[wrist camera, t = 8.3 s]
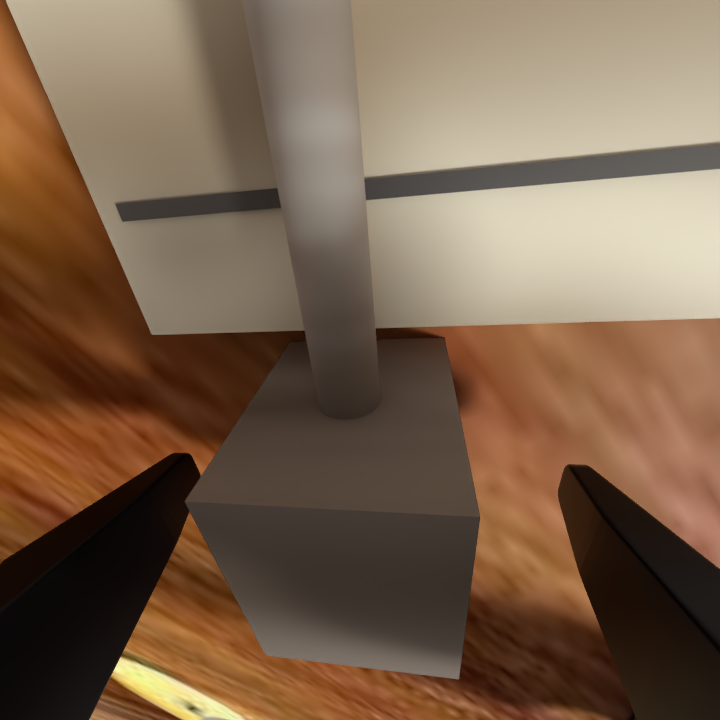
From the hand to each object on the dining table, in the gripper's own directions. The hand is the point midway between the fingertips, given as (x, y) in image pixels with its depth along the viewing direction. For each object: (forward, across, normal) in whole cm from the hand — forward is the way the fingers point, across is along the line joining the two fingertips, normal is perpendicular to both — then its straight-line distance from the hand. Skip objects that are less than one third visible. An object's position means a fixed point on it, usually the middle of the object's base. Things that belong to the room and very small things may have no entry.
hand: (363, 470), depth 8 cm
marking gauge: (+2, 0, -3) cm, 4 cm away
